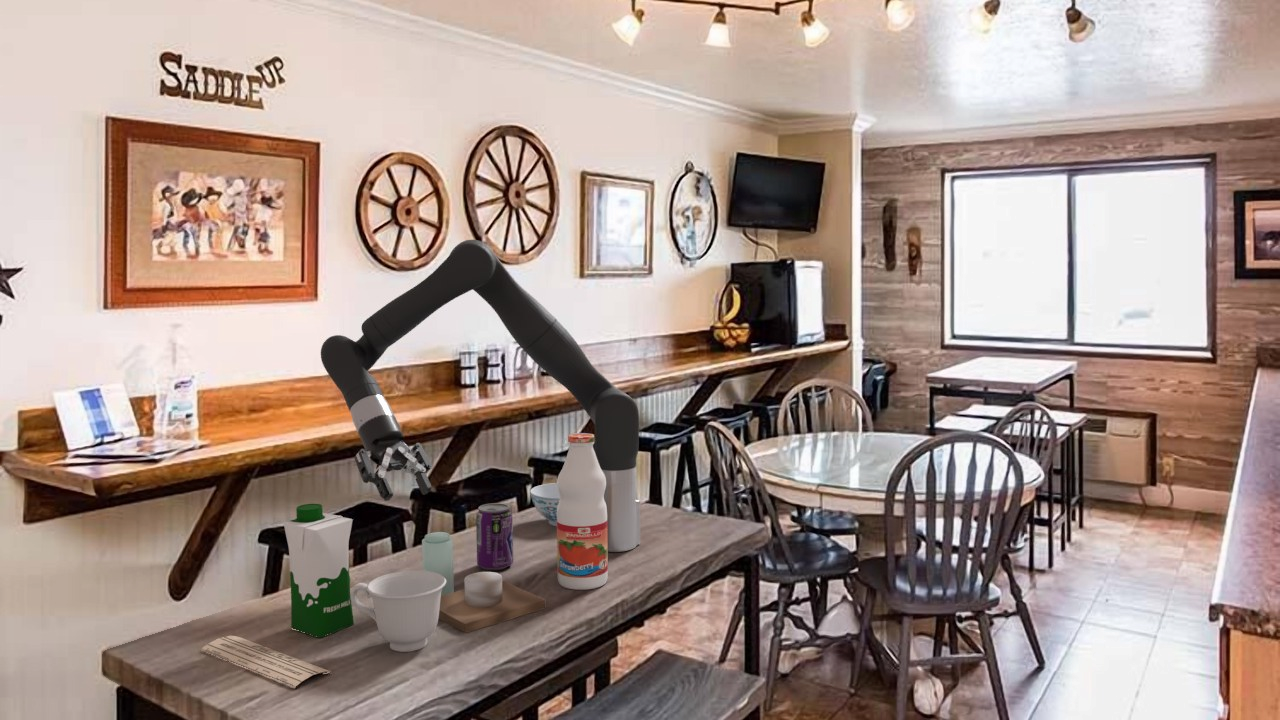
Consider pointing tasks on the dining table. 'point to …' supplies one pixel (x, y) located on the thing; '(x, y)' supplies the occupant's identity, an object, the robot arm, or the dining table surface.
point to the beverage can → (494, 536)
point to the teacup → (403, 606)
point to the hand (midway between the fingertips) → (408, 495)
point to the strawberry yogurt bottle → (582, 517)
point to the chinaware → (546, 501)
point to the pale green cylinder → (439, 557)
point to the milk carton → (319, 571)
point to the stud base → (487, 614)
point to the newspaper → (262, 659)
